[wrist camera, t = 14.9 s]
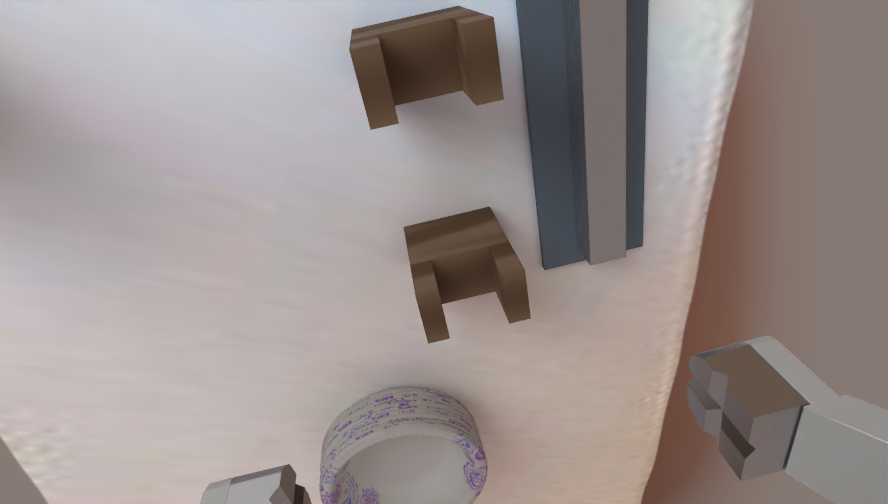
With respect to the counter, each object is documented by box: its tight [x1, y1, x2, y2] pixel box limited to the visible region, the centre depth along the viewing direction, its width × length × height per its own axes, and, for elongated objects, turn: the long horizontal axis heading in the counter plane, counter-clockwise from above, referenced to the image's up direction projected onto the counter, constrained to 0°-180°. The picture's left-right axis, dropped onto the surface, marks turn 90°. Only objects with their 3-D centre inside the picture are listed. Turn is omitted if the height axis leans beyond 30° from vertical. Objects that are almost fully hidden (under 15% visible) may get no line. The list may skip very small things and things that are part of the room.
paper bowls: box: [319, 387, 487, 504], centre depth 47 cm, size 15×15×8 cm
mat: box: [516, 0, 648, 270], centre depth 37 cm, size 25×9×1 cm, turn 11°
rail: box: [562, 0, 626, 265], centre depth 36 cm, size 22×3×3 cm, turn 11°
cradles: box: [349, 6, 531, 344], centre depth 33 cm, size 19×7×10 cm, turn 11°
